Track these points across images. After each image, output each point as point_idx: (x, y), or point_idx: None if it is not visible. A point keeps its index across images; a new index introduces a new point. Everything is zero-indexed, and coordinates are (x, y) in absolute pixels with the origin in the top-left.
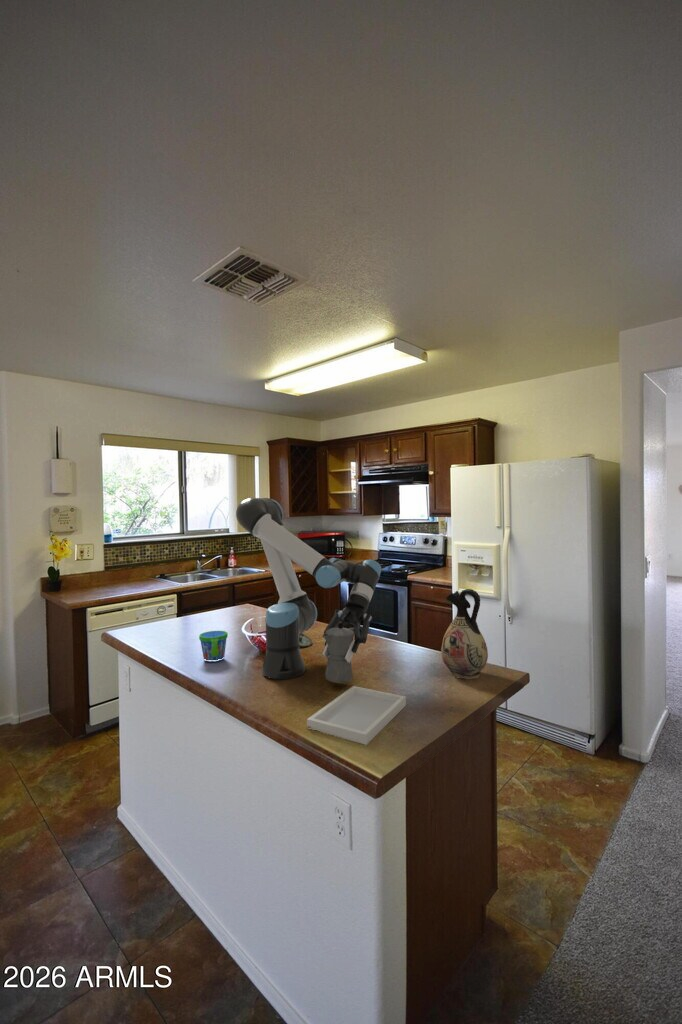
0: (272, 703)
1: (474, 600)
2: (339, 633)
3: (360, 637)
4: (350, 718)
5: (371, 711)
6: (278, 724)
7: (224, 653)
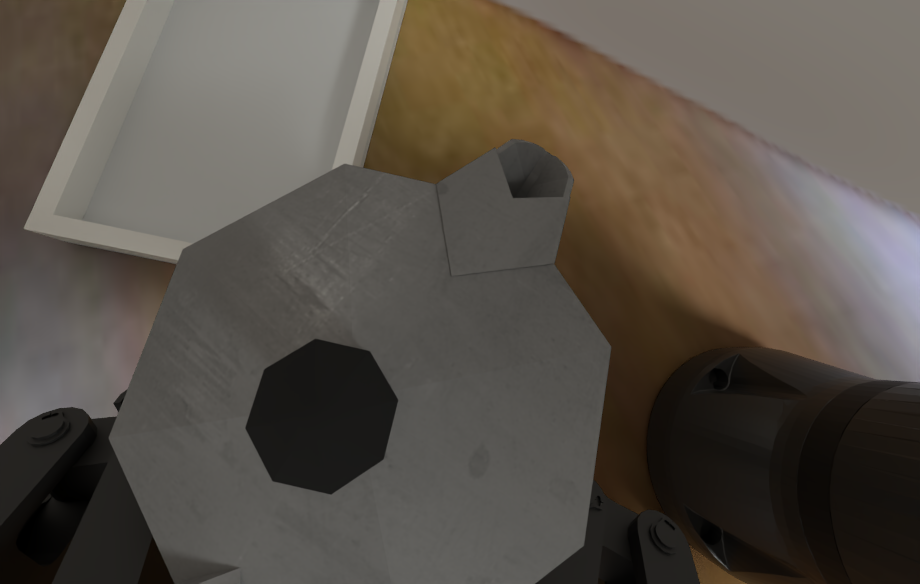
0: (604, 136)
1: None
2: (331, 225)
3: (70, 442)
4: (274, 57)
5: (203, 123)
6: (507, 8)
7: None
